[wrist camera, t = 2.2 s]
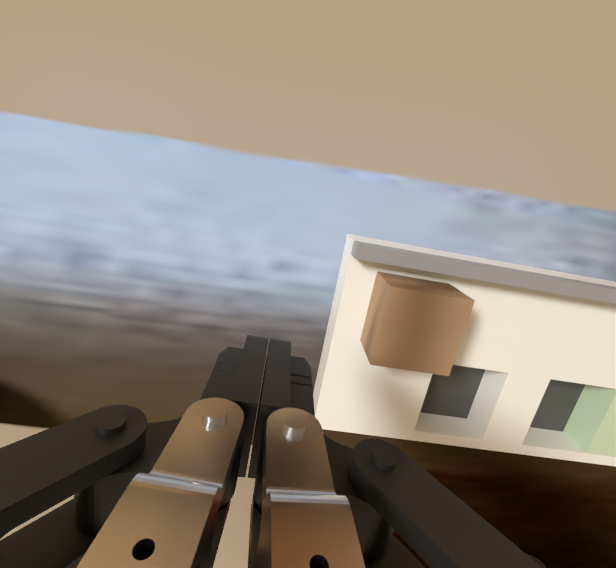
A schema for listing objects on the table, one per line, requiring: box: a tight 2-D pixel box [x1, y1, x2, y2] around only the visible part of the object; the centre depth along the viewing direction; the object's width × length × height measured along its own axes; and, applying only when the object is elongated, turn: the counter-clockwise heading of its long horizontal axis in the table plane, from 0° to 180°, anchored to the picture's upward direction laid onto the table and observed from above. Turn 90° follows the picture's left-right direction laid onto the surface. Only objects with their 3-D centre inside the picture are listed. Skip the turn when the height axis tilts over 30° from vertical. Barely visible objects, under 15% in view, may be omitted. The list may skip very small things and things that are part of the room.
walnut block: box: [360, 271, 475, 376], centre depth 19 cm, size 4×4×3 cm
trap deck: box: [313, 234, 616, 466], centre depth 22 cm, size 28×13×6 cm, turn 80°
